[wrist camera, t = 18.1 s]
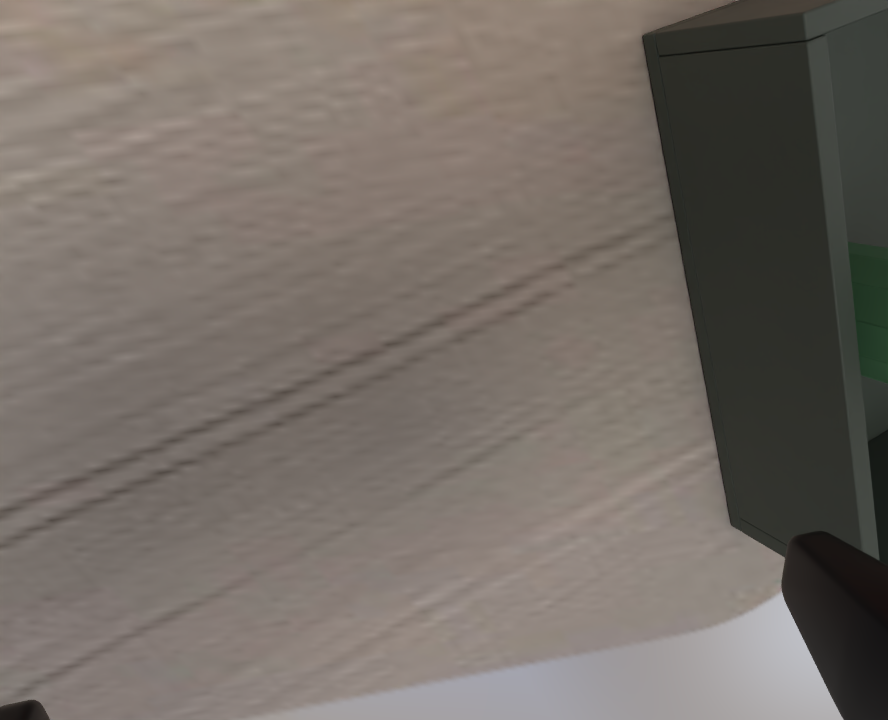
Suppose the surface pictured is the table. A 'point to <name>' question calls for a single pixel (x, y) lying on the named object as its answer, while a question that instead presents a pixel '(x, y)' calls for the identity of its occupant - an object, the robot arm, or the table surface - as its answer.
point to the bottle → (871, 307)
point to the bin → (783, 251)
